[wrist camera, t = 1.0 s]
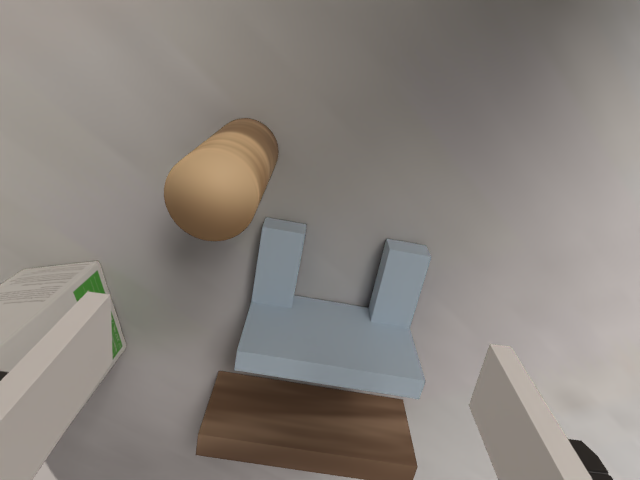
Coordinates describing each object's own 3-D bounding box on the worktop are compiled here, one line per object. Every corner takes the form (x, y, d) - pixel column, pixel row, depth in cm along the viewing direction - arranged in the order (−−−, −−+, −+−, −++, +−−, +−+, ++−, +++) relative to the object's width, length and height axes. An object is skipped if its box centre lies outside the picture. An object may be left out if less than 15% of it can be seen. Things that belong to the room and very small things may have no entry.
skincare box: (129, 346, 39) (12, 524, 24) (52, 354, 39) (-107, 533, 25) (98, 254, 36) (-56, 396, 21) (15, 264, 36) (-192, 409, 22)
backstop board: (218, 370, 39) (198, 434, 33) (402, 399, 40) (417, 466, 34) (216, 389, 40) (195, 454, 34) (397, 417, 41) (410, 486, 35)
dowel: (218, 112, 31) (166, 144, 21) (282, 124, 32) (262, 162, 21) (212, 175, 33) (161, 232, 23) (273, 186, 33) (250, 248, 23)
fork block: (265, 217, 34) (249, 264, 27) (425, 245, 35) (452, 299, 27) (248, 336, 38) (229, 406, 31) (391, 360, 39) (407, 434, 31)
